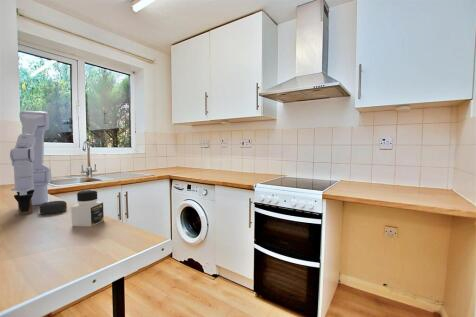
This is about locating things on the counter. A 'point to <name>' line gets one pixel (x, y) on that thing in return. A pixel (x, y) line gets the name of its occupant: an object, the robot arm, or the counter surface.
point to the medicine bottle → (87, 209)
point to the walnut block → (27, 211)
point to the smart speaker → (53, 207)
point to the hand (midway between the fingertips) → (25, 209)
